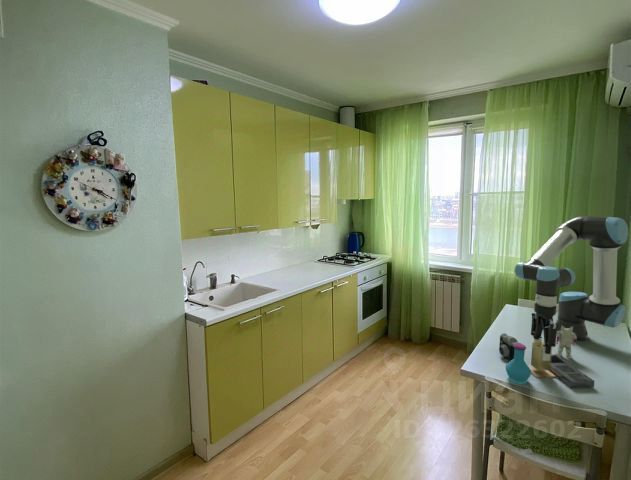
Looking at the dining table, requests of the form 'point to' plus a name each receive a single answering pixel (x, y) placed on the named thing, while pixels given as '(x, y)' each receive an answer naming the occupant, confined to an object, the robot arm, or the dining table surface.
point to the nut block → (539, 357)
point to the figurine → (565, 341)
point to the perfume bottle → (518, 366)
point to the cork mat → (541, 373)
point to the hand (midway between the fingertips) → (541, 356)
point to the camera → (507, 346)
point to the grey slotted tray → (569, 374)
